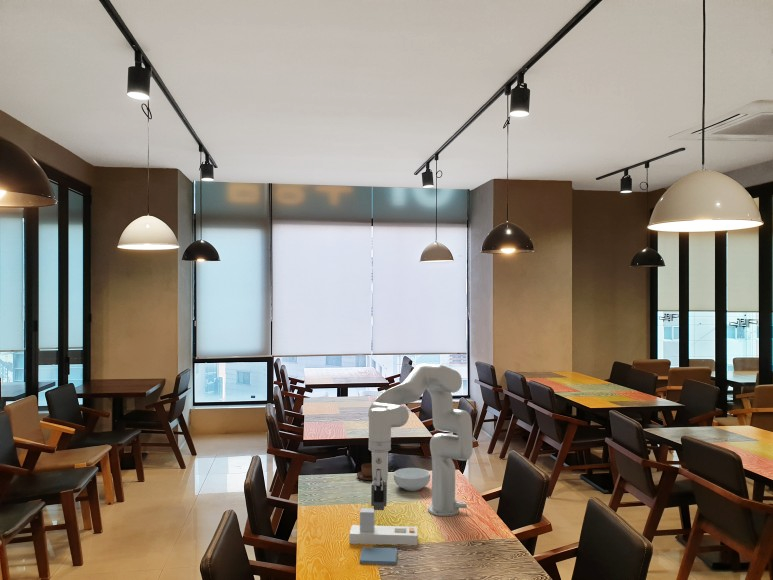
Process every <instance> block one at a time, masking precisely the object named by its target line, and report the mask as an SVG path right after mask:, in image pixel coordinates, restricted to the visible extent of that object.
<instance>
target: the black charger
mask: <svg viewBox="0 0 773 580" xmlns="http://www.w3.org/2000/svg"><path fill="white" fill-rule="evenodd" d="M371 481H372V482H371V485H370V486H371V494H370V495H371V496H370V497H371V499H370V500H371V502H370V504H371V505H370V507H373V508H374V510H375V511H385V507H387V502H388V501H387V500H388V499H387V498H388V494H387V493H388V482H387V481H386V482H385V481H384V482H383V490H384V501H383V502H374V490H375V481H373V480H371ZM380 484H381V483H380Z"/></svg>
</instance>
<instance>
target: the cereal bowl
mask: <svg viewBox="0 0 773 580" xmlns="http://www.w3.org/2000/svg"><path fill="white" fill-rule="evenodd" d="M393 480H394V482H395V485H396V486H398V487H399V488H402V489H404V490H405V491H410V492H413V491H421V489H422V488H425V487H426V486H427V485H429V483H430V480H431V472H430V471H429V470H427V469H424V468H419V467H405V468H399V469H396V470H395V471H394V472H393Z"/></svg>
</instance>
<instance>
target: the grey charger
mask: <svg viewBox="0 0 773 580" xmlns="http://www.w3.org/2000/svg"><path fill="white" fill-rule="evenodd" d="M375 512H376V510H374V507H372V508H370V507H369V508H368V507H367V508H366V507H361V508H360V511H359V525H360V532H374V528H375V526H376V525H375V516H376V515H375V514H376V513H375Z"/></svg>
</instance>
